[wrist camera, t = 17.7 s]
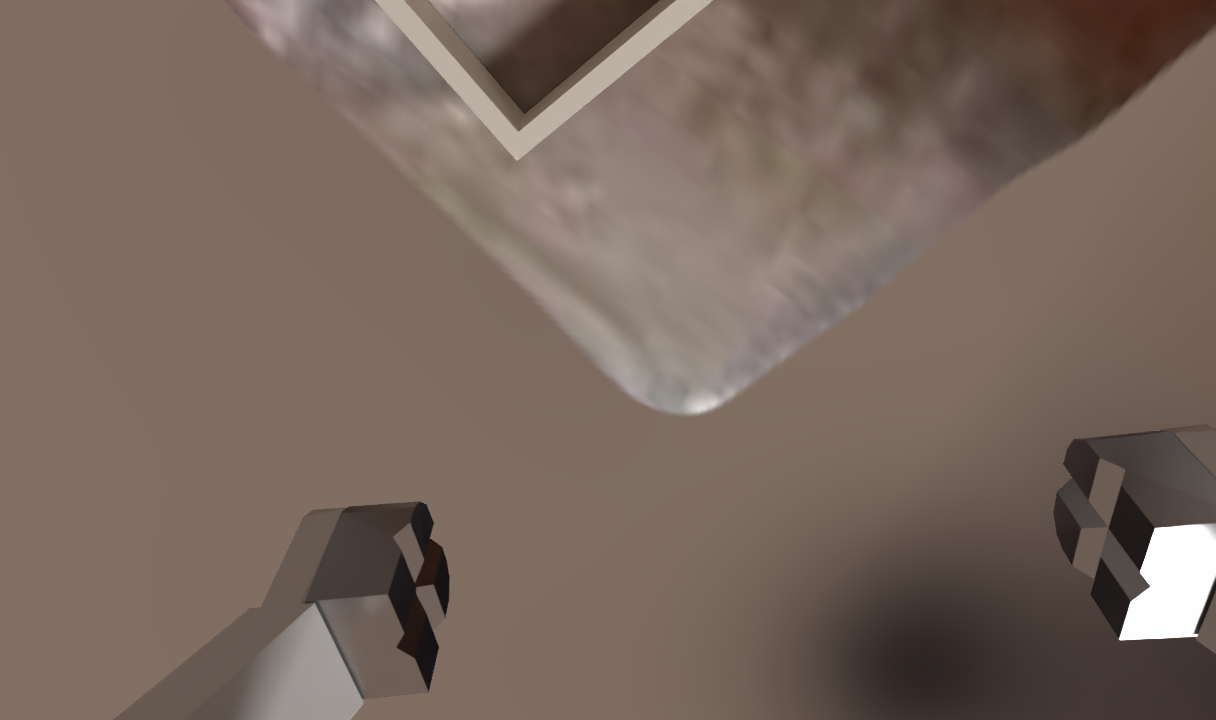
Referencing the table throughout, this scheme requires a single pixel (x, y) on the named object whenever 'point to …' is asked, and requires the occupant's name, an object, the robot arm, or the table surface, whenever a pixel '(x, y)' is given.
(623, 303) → the table surface
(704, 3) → the bin
